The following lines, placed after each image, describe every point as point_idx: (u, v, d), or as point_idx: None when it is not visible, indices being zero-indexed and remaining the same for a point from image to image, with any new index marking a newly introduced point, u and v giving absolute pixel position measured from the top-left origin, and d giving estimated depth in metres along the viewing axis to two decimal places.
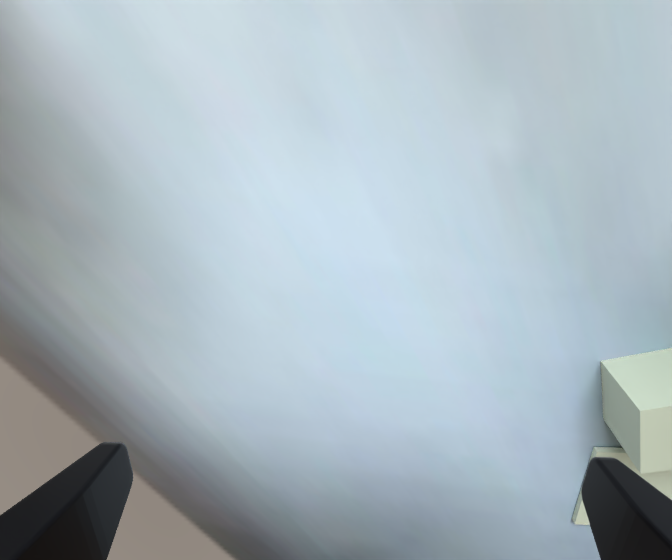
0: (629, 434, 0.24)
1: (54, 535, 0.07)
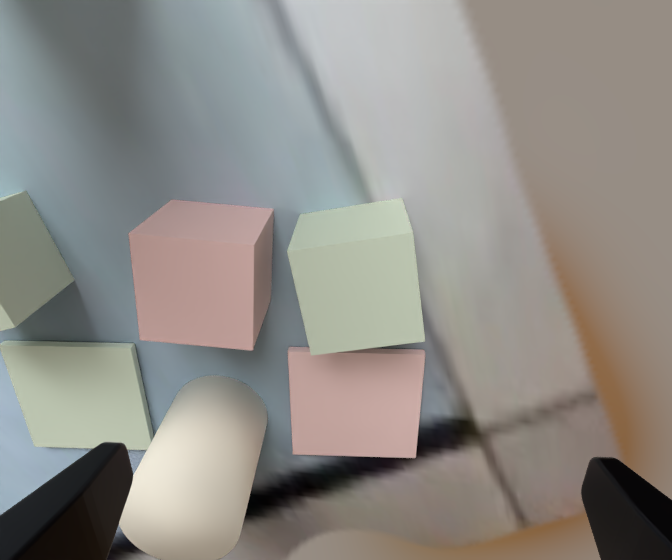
0: None
1: (55, 535, 0.07)
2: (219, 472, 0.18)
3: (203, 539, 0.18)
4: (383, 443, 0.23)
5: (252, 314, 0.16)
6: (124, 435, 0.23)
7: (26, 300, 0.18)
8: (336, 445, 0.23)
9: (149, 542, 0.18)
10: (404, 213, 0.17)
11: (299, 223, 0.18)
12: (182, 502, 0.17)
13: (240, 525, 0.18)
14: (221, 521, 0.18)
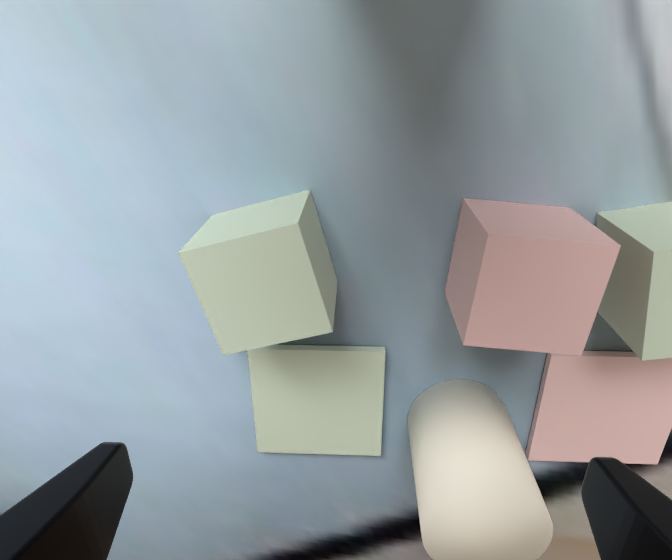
0: None
1: (54, 535, 0.07)
2: (529, 481, 0.17)
3: (506, 551, 0.17)
4: (627, 449, 0.22)
5: (593, 318, 0.16)
6: (355, 441, 0.23)
7: (330, 303, 0.17)
8: (576, 451, 0.22)
9: (447, 553, 0.18)
10: None
11: (615, 222, 0.17)
12: (499, 514, 0.17)
13: (550, 537, 0.17)
14: (533, 533, 0.17)
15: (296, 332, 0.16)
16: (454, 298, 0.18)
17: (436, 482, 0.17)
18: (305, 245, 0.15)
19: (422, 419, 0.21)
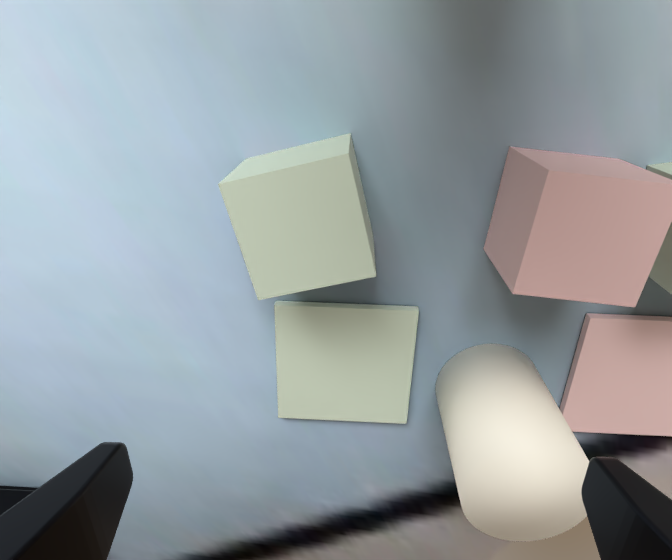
0: None
1: (54, 535, 0.07)
2: (574, 441, 0.16)
3: (547, 514, 0.17)
4: (661, 421, 0.22)
5: (651, 266, 0.15)
6: (380, 407, 0.22)
7: (372, 249, 0.16)
8: (608, 422, 0.22)
9: (486, 516, 0.17)
10: None
11: (669, 172, 0.16)
12: (543, 472, 0.16)
13: None
14: (578, 494, 0.16)
15: (337, 276, 0.15)
16: (498, 250, 0.17)
17: (476, 440, 0.17)
18: (354, 179, 0.14)
19: (455, 382, 0.20)
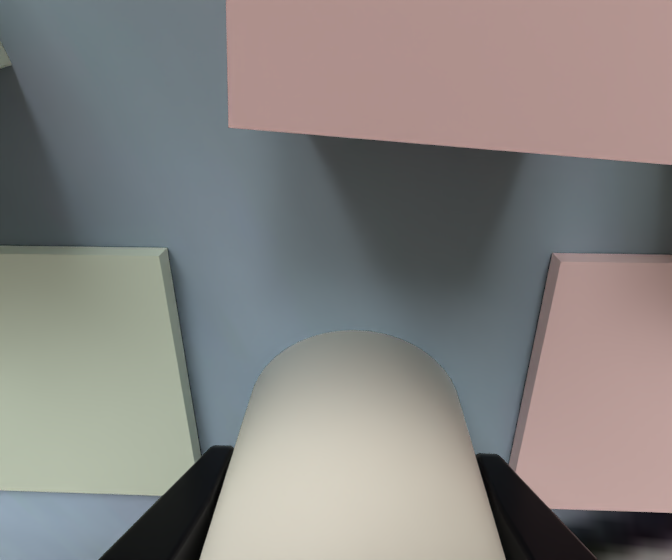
0: None
1: (193, 540, 0.07)
2: None
3: None
4: None
5: None
6: (140, 466, 0.11)
7: None
8: (611, 489, 0.10)
9: None
10: None
11: None
12: None
13: None
14: None
15: None
16: None
17: None
18: None
19: (249, 421, 0.09)
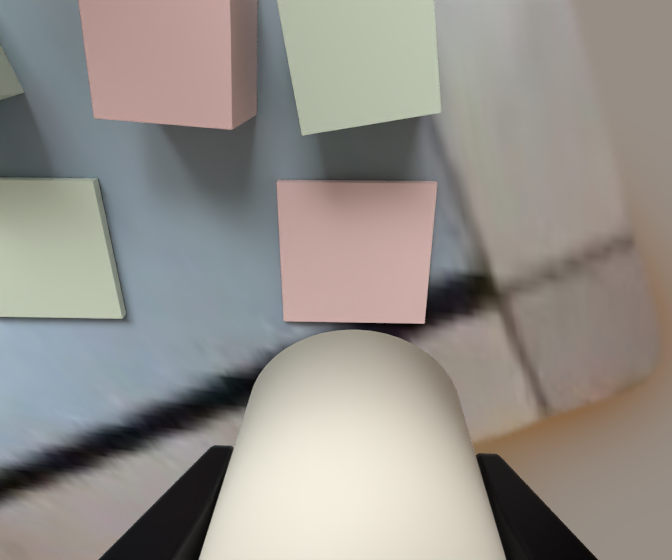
0: None
1: (193, 539, 0.07)
2: None
3: None
4: (388, 305, 0.20)
5: (230, 74, 0.13)
6: (89, 299, 0.20)
7: None
8: (333, 308, 0.20)
9: None
10: None
11: None
12: None
13: None
14: None
15: None
16: None
17: None
18: None
19: (249, 420, 0.09)
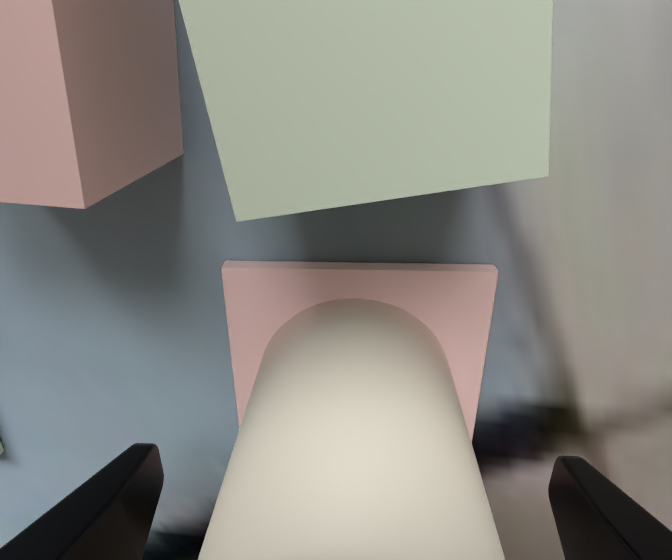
0: None
1: (95, 536, 0.07)
2: (467, 521, 0.06)
3: None
4: None
5: (64, 90, 0.06)
6: None
7: None
8: None
9: None
10: None
11: None
12: None
13: None
14: None
15: None
16: None
17: (222, 520, 0.07)
18: None
19: (262, 374, 0.10)
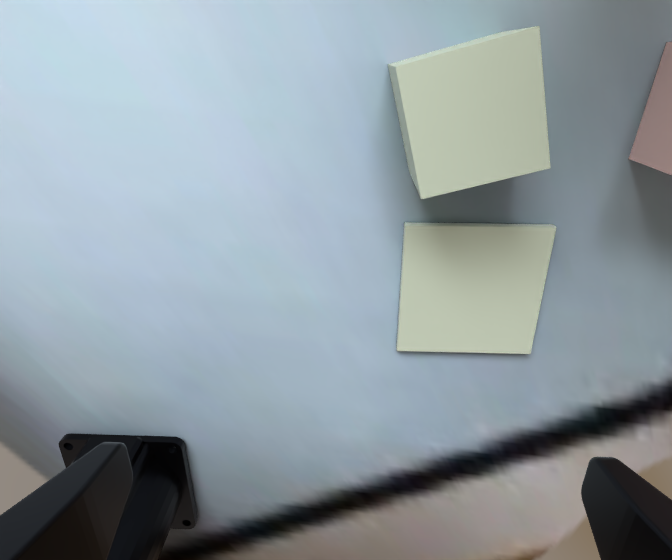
0: (408, 143, 0.16)
1: (54, 535, 0.07)
2: None
3: None
4: None
5: None
6: (505, 336, 0.21)
7: None
8: None
9: None
10: None
11: None
12: None
13: None
14: None
15: (509, 169, 0.15)
16: (659, 150, 0.16)
17: None
18: (540, 57, 0.14)
19: None
